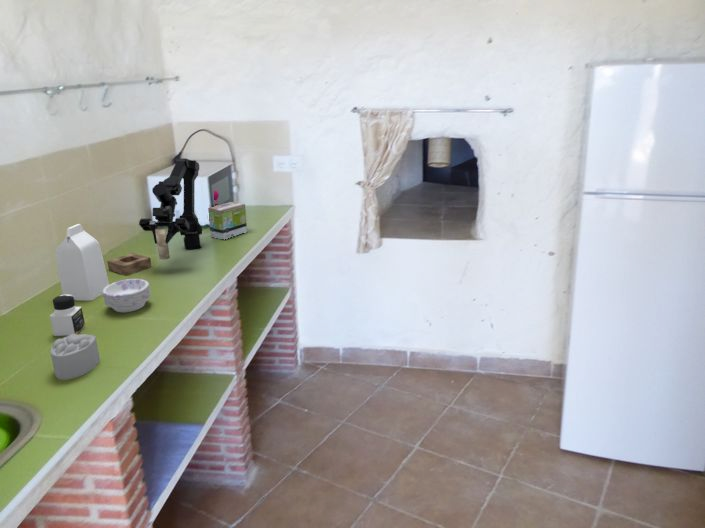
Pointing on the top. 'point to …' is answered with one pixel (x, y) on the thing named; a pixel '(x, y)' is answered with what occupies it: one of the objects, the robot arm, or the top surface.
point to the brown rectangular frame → (129, 264)
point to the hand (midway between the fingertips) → (161, 243)
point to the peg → (162, 243)
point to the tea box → (227, 220)
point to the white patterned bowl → (127, 295)
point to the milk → (81, 265)
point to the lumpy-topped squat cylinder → (74, 355)
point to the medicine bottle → (66, 316)
